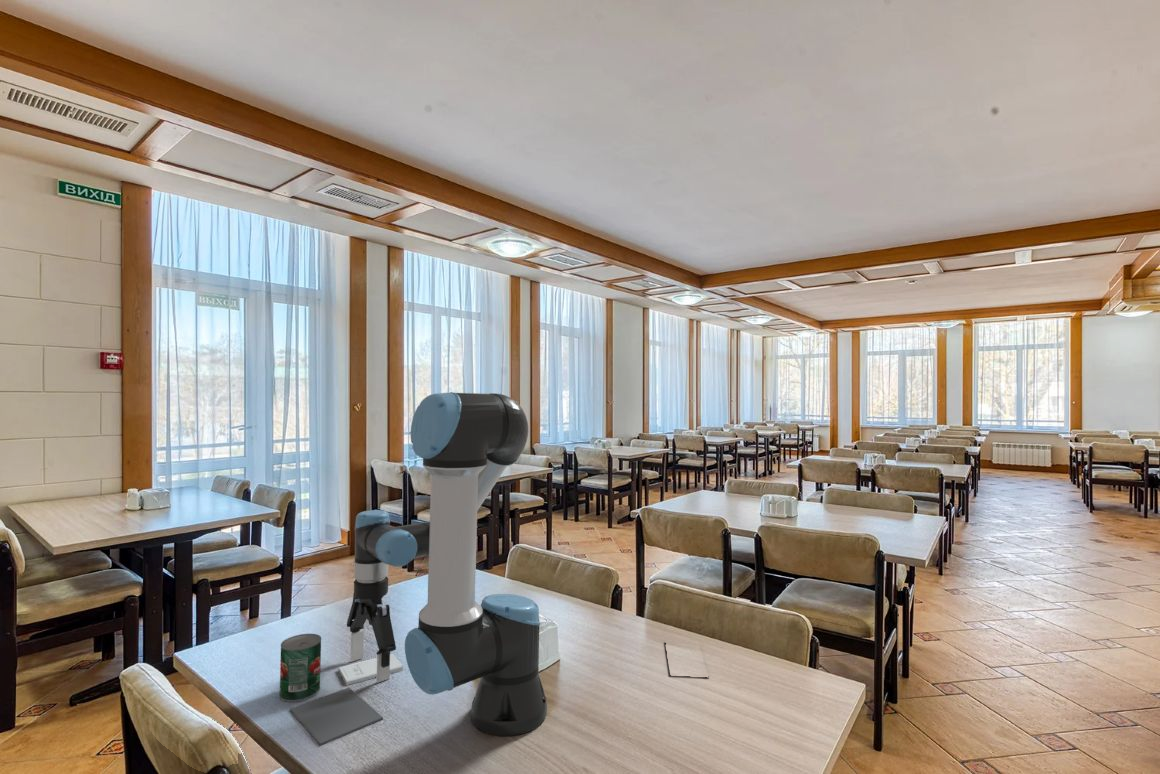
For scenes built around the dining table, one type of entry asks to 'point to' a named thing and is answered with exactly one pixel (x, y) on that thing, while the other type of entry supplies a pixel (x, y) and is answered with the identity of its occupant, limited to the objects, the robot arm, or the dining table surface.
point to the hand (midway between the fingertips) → (369, 669)
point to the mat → (335, 715)
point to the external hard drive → (366, 670)
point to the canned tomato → (300, 667)
